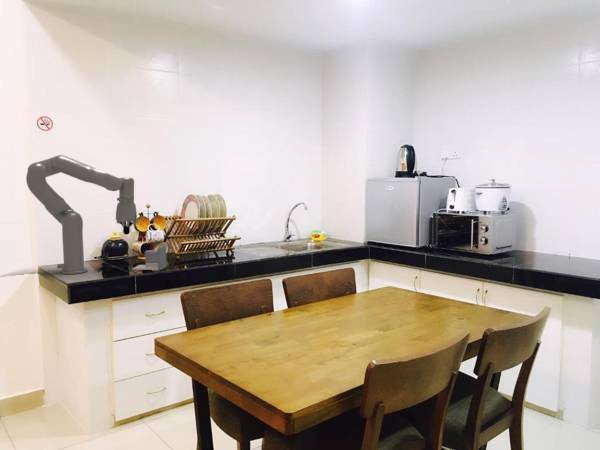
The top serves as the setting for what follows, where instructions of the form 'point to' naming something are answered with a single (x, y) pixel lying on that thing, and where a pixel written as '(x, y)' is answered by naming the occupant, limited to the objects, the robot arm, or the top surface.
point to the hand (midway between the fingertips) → (126, 234)
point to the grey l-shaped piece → (155, 266)
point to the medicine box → (151, 256)
